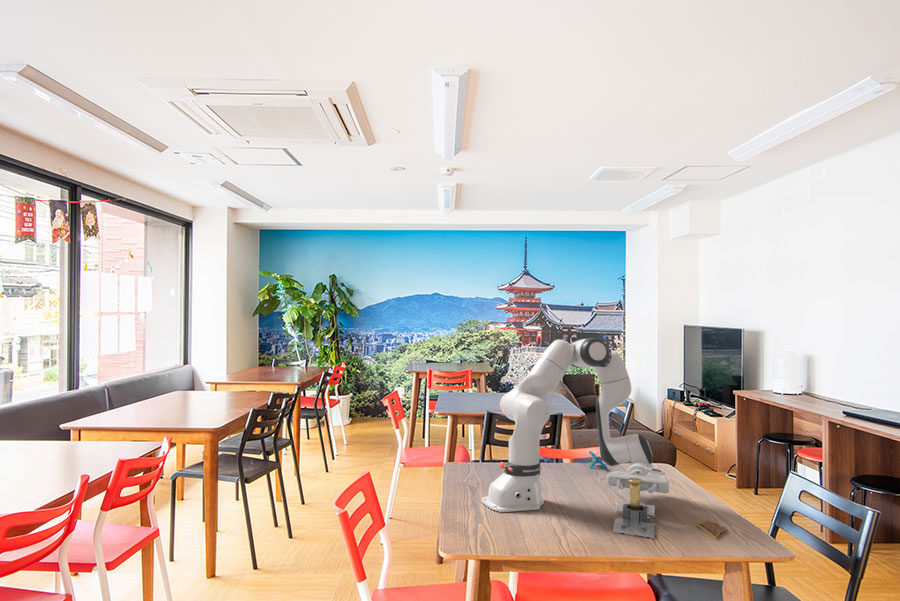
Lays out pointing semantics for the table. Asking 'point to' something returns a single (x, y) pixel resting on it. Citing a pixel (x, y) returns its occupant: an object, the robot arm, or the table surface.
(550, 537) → the table surface
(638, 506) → the hinge pin
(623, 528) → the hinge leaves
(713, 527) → the shard
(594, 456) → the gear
